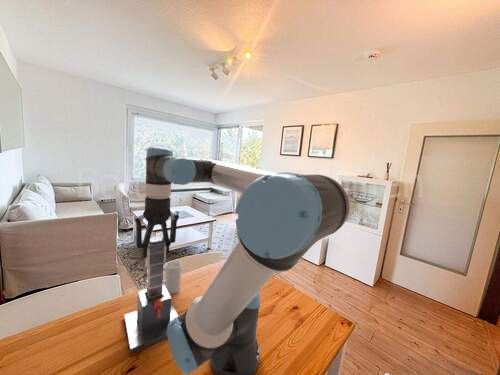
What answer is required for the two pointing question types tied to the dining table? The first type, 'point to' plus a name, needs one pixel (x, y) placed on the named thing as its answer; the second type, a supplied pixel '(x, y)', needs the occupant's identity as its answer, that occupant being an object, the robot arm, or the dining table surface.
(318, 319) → the dining table surface
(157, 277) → the column
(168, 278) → the mug
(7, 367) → the dining table surface
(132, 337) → the sleeve
